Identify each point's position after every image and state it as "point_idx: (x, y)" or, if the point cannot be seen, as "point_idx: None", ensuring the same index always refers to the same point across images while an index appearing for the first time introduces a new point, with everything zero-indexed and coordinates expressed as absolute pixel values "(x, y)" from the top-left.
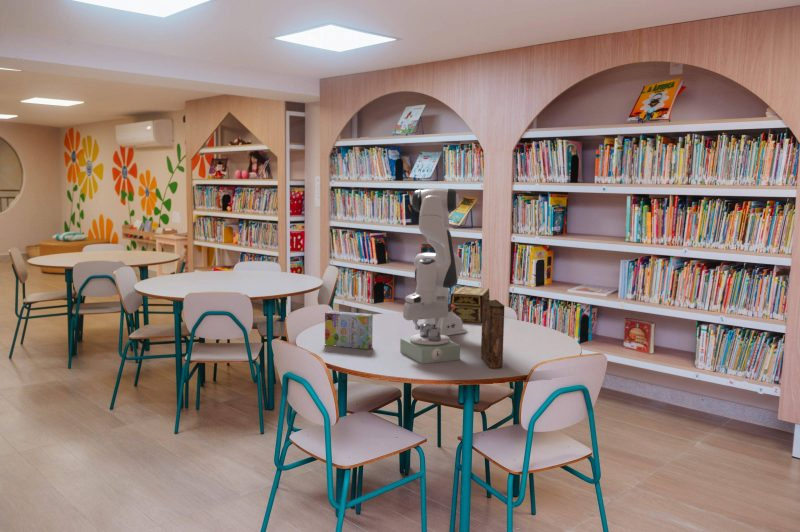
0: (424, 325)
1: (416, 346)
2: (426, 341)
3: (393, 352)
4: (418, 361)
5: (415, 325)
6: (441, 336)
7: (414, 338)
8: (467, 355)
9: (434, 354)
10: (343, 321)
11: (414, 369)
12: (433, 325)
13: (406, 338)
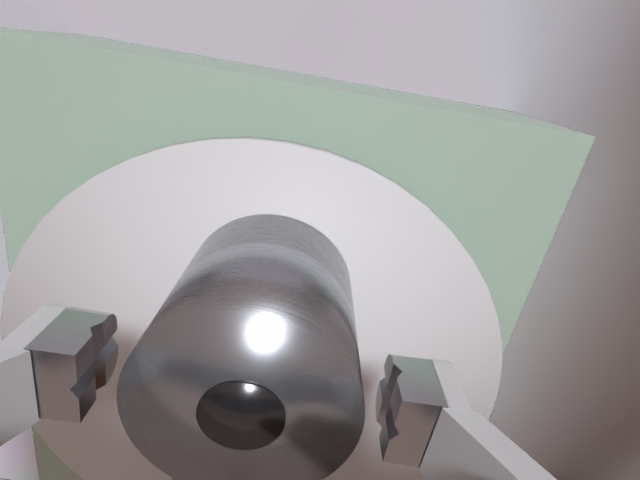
0: (173, 447)
1: (32, 427)
2: (137, 463)
3: (10, 6)
4: None
5: (1, 353)
6: None
7: None
8: (519, 406)
9: None
10: None
11: (10, 461)
12: (384, 445)
13: (63, 82)
